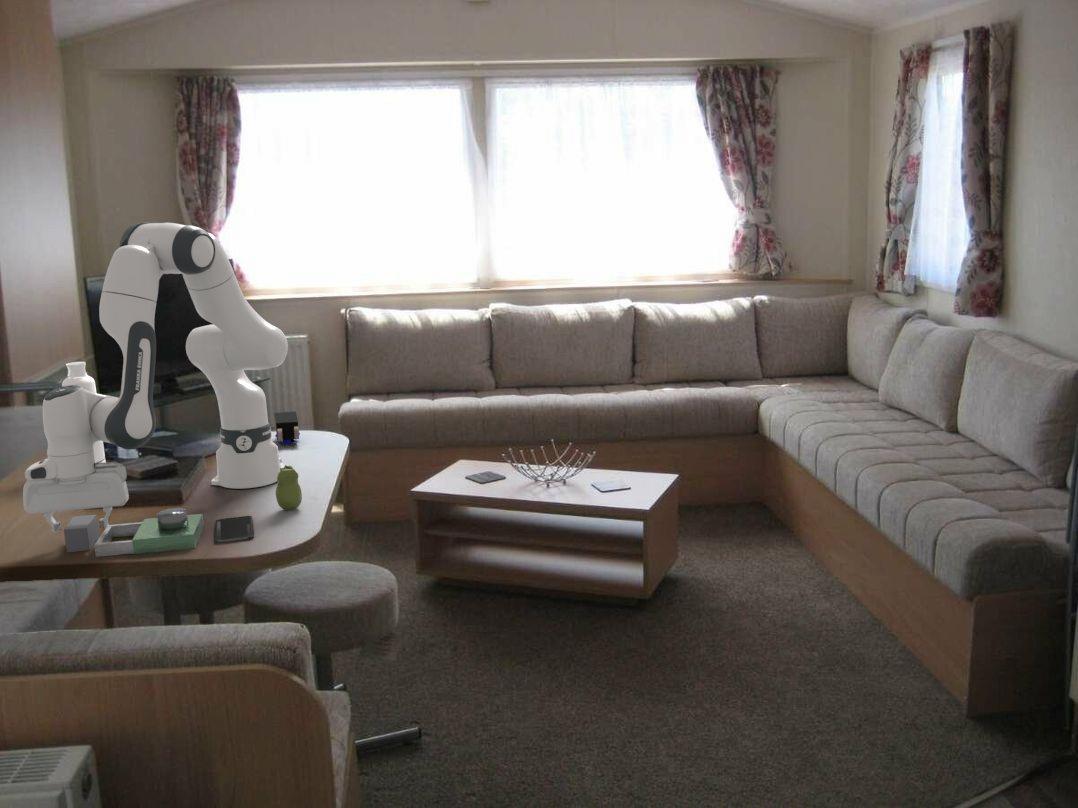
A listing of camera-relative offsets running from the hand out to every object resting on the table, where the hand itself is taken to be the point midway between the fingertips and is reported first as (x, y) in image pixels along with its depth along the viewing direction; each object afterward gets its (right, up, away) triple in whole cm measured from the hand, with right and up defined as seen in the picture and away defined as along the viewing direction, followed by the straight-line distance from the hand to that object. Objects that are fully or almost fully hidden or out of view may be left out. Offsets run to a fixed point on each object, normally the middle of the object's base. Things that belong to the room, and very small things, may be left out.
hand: (80, 529), depth 233 cm
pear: (+40, +2, +18) cm, 44 cm away
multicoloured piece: (+15, -3, 0) cm, 15 cm away
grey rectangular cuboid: (0, -3, +1) cm, 4 cm away
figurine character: (+25, +15, +81) cm, 86 cm away
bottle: (-23, +9, +63) cm, 68 cm away
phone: (+31, -1, +5) cm, 31 cm away
